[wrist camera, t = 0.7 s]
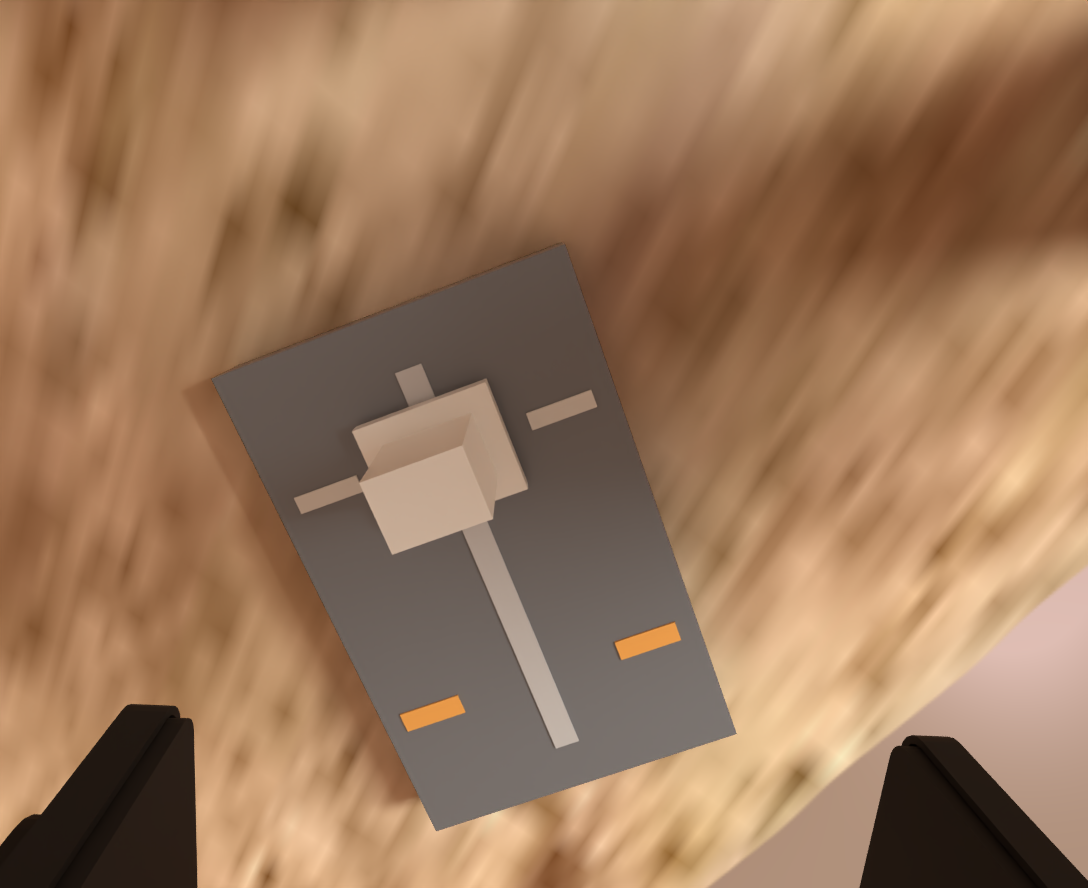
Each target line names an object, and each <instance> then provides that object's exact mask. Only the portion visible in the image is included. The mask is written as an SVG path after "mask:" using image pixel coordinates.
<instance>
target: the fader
mask: <svg viewBox="0 0 1088 888" xmlns="http://www.w3.org/2000/svg"><path fill="white" fill-rule="evenodd" d="M352 433H353V435H354V437H355V439H356V441H357V444H358V446H359V448H360V450H361V452H362V455H363V457H364V459H365V461H366V463H367V466H368V470H367V471H366V473H365V474H364V476H363V478H362V479H361V481H360V482H359V484H360V486H361V488H362V491H363V493H364V495H365V497H366V499H367V501H368V504H369V506H370V508H371V510H372V512H373V514H374V517H375V519H376V521H377V523H378V525H379V527H380V530H381V532H382V534H383V536H384V538H385V540H386V543H387V545H388V547H389V549H390V551H391V553H392V555H393V554H396V553H399V552H402V551H405V550H407V549H410V548H413V547H416V546H419V545H421V544H424V543H427V542H430V541H433V540H436V539H438V538H441V537H444V536H447V535H450V534H452V533H455V532H458V531H461V530H464V529H467V528H469V527H472V526H475V525H478V524H481V523H483V522H486V521H489V520H492V519H493V514H494V505H495V501H496V500H499V499H502V498H504V497H507V496H510V495H513V494H516V493H518V492H521V491H524V490H527V489H528V482H527V480H526V477H525V474H524V472H523V469H522V467H521V464H520V462H519V459H518V457H517V454H516V452H515V449H514V447H513V444H512V442H511V439H510V437H509V434H508V432H507V429H506V427H505V424H504V422H503V419H502V416H501V414H500V411H499V409H498V406H497V404H496V401H495V399H494V396H493V394H492V391H491V389H490V386H489V384H488V381H487V379H483V380H480V381H478V382H475V383H472V384H470V385H467V386H464V387H461V388H459V389H456V390H453V391H451V392H448V393H445V394H443V395H440V396H437V397H434V398H432V399H429V400H426V401H424V402H421V403H418V404H415V405H413V406H410V407H407V408H405V409H402V410H399V411H397V412H394V413H391V414H388V415H386V416H383V417H380V418H378V419H375V420H372V421H370V422H367V423H364V424H361V425H359V426H356V427H355V428H354V429H353V431H352Z"/></svg>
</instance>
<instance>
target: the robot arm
mask: <svg viewBox="0 0 1088 888" xmlns="http://www.w3.org/2000/svg"><path fill="white" fill-rule="evenodd" d="M0 888H197V848H196V805H195V762H194V727H193V722H192V720H191V719H190V718H180V713H179V710H178V708H177V707H176V706H166V705H141V704H130V705H127V706H126V707H125V708H124V709H123V710H122V711H121V712H120V714H119V715H118V716H117V717H116V719H115V720H114V721H113V723H112V724H111V725H110V726H109V728H108V729H107V730H106V732H105V733H104V734H103V736H102V737H101V738H100V739H99V741H98V742H97V743H96V745H95V746H94V747H93V748H92V750H91V751H90V752H89V754H88V755H87V756H86V757H85V759H84V760H83V761H82V763H81V764H80V765H79V767H78V768H77V769H76V770H75V772H74V773H73V774H72V776H71V777H70V778H69V779H68V781H67V782H66V783H65V785H64V786H63V787H62V788H61V790H60V791H59V792H58V794H57V795H56V796H55V798H54V799H53V800H52V801H51V803H50V804H49V805H48V807H47V808H46V809H45V810H44V812H43V813H42V814H41V815H39V814H33V815H31V816H29V817H27V818H25V819H23V820H22V821H21V822H20V823H19V824H18V825H17V826H16V827H15V828H14V829H13V831H12V832H11V833H10V834H9V836H8V837H7V838H6V839H5V841H4V842H3V843H2V844H1V846H0ZM860 888H1088V880H1087V879H1086V878H1085V877H1084V876H1083V875H1082V874H1081V873H1080V872H1079V871H1078V870H1077V869H1076V867H1074V865H1073V864H1072V863H1071V862H1070V861H1069V860H1068V859H1067V858H1066V857H1065V856H1064V855H1063V854H1062V853H1061V851H1060V850H1059V849H1058V848H1057V847H1056V846H1055V845H1054V844H1053V843H1052V842H1051V841H1050V840H1049V838H1048V837H1047V836H1046V835H1045V834H1044V833H1043V832H1042V831H1041V830H1040V829H1039V828H1038V827H1037V826H1036V824H1035V823H1034V822H1033V821H1032V820H1030V818H1029V817H1028V816H1027V815H1026V814H1025V813H1024V812H1023V811H1022V810H1021V808H1020V807H1019V806H1018V805H1017V804H1016V803H1015V802H1014V801H1013V800H1012V799H1011V798H1010V796H1008V794H1007V793H1006V792H1005V791H1004V790H1003V789H1002V788H1001V787H1000V786H999V785H998V784H997V783H996V781H995V780H994V779H993V778H992V777H991V776H990V775H989V774H988V773H987V772H986V771H985V770H984V769H983V768H982V766H981V765H980V764H979V763H978V762H977V761H976V760H975V759H974V758H973V757H972V756H971V755H970V754H969V752H968V751H967V750H966V749H965V748H964V747H963V746H962V745H961V744H960V743H959V742H958V741H957V740H955V739H954V738H950V737H941V736H940V737H939V736H915V735H911V736H908V737H906V739H905V740H904V741H903V743H902V746H897V747H895V748H894V749H893V750H892V752H891V755H890V759H889V763H888V767H887V772H886V776H885V781H884V785H883V789H882V793H881V798H880V802H879V806H878V810H877V815H876V819H875V823H874V828H873V832H872V836H871V841H870V845H869V850H868V854H867V858H866V863H865V866H864V871H863V875H862V880H861V884H860Z"/></svg>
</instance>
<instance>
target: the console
mask: <svg viewBox="0 0 1088 888" xmlns="http://www.w3.org/2000/svg"><path fill="white" fill-rule="evenodd" d="M483 379H487V381H488V384H489V386H490V389H491V391H492V394H493V396H494V399H495V401H496V404H497V406H498V409H499V411H500V414H501V416H502V419H503V422H504V424H505V427H506V429H507V432H508V434H509V437H510V439H511V442H512V444H513V447H514V449H515V452H516V454H517V457H518V459H519V462H520V464H521V467H522V469H523V472H524V474H525V477H526V480H527V482H528V489H527V490H524V491H521V492H518V493H516V494H513V495H510V496H507V497H504V498H502V499H499V500H496V501H495V505H494V514H493V519H492V520H489V521H486V522H483V523H481V524H478V525H475V526H472V527H469V528H467V529H464V530H461V531H458V532H455V533H452V534H450V535H447V536H444V537H441V538H438V539H436V540H433V541H430V542H427V543H424V544H421V545H419V546H416V547H413V548H410V549H407V550H405V551H402V552H399V553H396V554H393V555H392V553H391V551H390V549H389V547H388V545H387V543H386V540H385V538H384V536H383V534H382V532H381V530H380V527H379V525H378V523H377V521H376V519H375V517H374V514H373V512H372V510H371V508H370V506H369V504H368V501H367V499H366V497H365V495H364V493H363V491H362V488H361V486H360V484H359V482H360V481H361V479H362V478H363V476H364V474H365V473H366V471H367V470H368V466H367V463H366V461H365V459H364V457H363V455H362V452H361V450H360V448H359V446H358V444H357V441H356V439H355V437H354V435H353V433H352V431H353V429H354V428H355V427H356V426H359V425H361V424H364V423H367V422H370V421H372V420H375V419H378V418H380V417H383V416H386V415H388V414H391V413H394V412H397V411H399V410H402V409H405V408H407V407H410V406H413V405H415V404H418V403H421V402H424V401H426V400H429V399H432V398H434V397H437V396H440V395H443V394H445V393H448V392H451V391H453V390H456V389H459V388H461V387H464V386H467V385H470V384H472V383H475V382H478V381H480V380H483ZM211 380H212V382H213V384H214V386H215V388H216V390H217V392H218V394H219V396H220V398H221V400H222V402H223V404H224V406H225V408H226V410H227V412H228V414H229V416H230V418H231V420H232V422H233V424H234V426H235V428H236V430H237V432H238V434H239V436H240V438H241V440H242V442H243V444H244V446H245V448H246V450H247V452H248V454H249V456H250V458H251V460H252V462H253V464H254V466H255V468H256V470H257V472H258V474H259V476H260V478H261V480H262V482H263V484H264V486H265V488H266V490H267V492H268V494H269V496H270V498H271V500H272V502H273V504H274V506H275V508H276V510H277V512H278V514H279V516H280V518H281V520H282V522H283V524H284V526H285V528H286V530H287V532H288V534H289V536H290V538H291V540H292V542H293V544H294V546H295V548H296V550H297V552H298V554H299V556H300V558H301V560H302V562H303V564H304V566H305V568H306V570H307V573H308V575H309V577H310V579H311V581H312V583H313V585H314V587H315V589H316V591H317V593H318V595H319V597H320V599H321V601H322V603H323V605H324V607H325V609H326V611H327V613H328V615H329V617H330V619H331V621H332V623H333V625H334V627H335V629H336V631H337V633H338V635H339V637H340V639H341V641H342V643H343V645H344V647H345V649H346V651H347V653H348V655H349V657H350V659H351V661H352V663H353V665H354V667H355V669H356V671H357V673H358V675H359V677H360V679H361V681H362V683H363V685H364V687H365V689H366V691H367V693H368V695H369V697H370V699H371V701H372V703H373V705H374V707H375V709H376V711H377V713H378V715H379V717H380V719H381V721H382V723H383V725H384V727H385V729H386V731H387V733H388V735H389V737H390V739H391V741H392V743H393V745H394V747H395V749H396V751H397V753H398V755H399V757H400V759H401V761H402V763H403V765H404V768H405V770H406V772H407V774H408V776H409V778H410V780H411V782H412V784H413V786H414V788H415V790H416V792H417V794H418V796H419V798H420V800H421V802H422V804H423V806H424V808H425V810H426V812H427V814H428V816H429V818H430V820H431V822H432V824H433V826H434V828H435V830H436V831H439V830H442V829H445V828H448V827H451V826H454V825H457V824H460V823H463V822H466V821H469V820H472V819H476V818H479V817H482V816H485V815H488V814H491V813H494V812H497V811H500V810H503V809H506V808H510V807H513V806H516V805H519V804H522V803H525V802H528V801H531V800H534V799H537V798H540V797H543V796H547V795H550V794H553V793H556V792H559V791H562V790H565V789H568V788H571V787H574V786H577V785H580V784H584V783H587V782H590V781H593V780H596V779H599V778H602V777H605V776H608V775H611V774H614V773H618V772H621V771H624V770H627V769H630V768H633V767H636V766H639V765H642V764H645V763H648V762H651V761H655V760H658V759H661V758H664V757H667V756H670V755H673V754H676V753H679V752H682V751H685V750H688V749H692V748H695V747H698V746H701V745H704V744H707V743H710V742H713V741H716V740H719V739H722V738H725V737H729V736H732V735H735V734H736V731H735V728H734V725H733V722H732V719H731V716H730V714H729V711H728V708H727V705H726V702H725V699H724V697H723V694H722V691H721V688H720V685H719V682H718V679H717V677H716V674H715V671H714V668H713V665H712V662H711V659H710V657H709V654H708V651H707V648H706V645H705V642H704V639H703V637H702V634H701V631H700V628H699V625H698V622H697V619H696V617H695V614H694V611H693V608H692V605H691V602H690V600H689V597H688V594H687V591H686V588H685V585H684V582H683V580H682V577H681V574H680V571H679V568H678V565H677V562H676V560H675V557H674V554H673V551H672V548H671V545H670V542H669V540H668V537H667V534H666V531H665V528H664V525H663V522H662V520H661V517H660V514H659V511H658V508H657V505H656V503H655V500H654V497H653V494H652V491H651V488H650V485H649V483H648V480H647V477H646V474H645V471H644V468H643V465H642V463H641V460H640V457H639V454H638V451H637V448H636V445H635V443H634V440H633V437H632V434H631V431H630V428H629V426H628V423H627V420H626V417H625V414H624V411H623V408H622V406H621V403H620V400H619V397H618V394H617V391H616V388H615V386H614V383H613V380H612V377H611V374H610V371H609V368H608V366H607V363H606V360H605V357H604V354H603V351H602V348H601V346H600V343H599V340H598V337H597V334H596V331H595V329H594V326H593V323H592V320H591V317H590V314H589V311H588V309H587V306H586V303H585V300H584V297H583V294H582V291H581V289H580V286H579V283H578V280H577V277H576V274H575V271H574V269H573V266H572V263H571V260H570V257H569V254H568V251H567V249H566V246H565V244H564V243H562V242H561V243H559V244H556V245H553V246H551V247H548V248H545V249H543V250H540V251H538V252H535V253H532V254H530V255H527V256H524V257H522V258H519V259H517V260H514V261H511V262H509V263H506V264H503V265H501V266H498V267H496V268H493V269H490V270H488V271H485V272H482V273H480V274H477V275H475V276H472V277H469V278H467V279H464V280H461V281H459V282H456V283H454V284H451V285H448V286H446V287H443V288H440V289H438V290H435V291H433V292H430V293H427V294H425V295H422V296H419V297H417V298H414V299H412V300H409V301H406V302H404V303H401V304H398V305H396V306H393V307H391V308H388V309H385V310H383V311H380V312H377V313H375V314H372V315H370V316H367V317H364V318H362V319H359V320H356V321H354V322H351V323H349V324H346V325H343V326H341V327H338V328H335V329H333V330H330V331H328V332H325V333H322V334H320V335H317V336H314V337H312V338H309V339H307V340H304V341H301V342H299V343H296V344H293V345H291V346H288V347H286V348H283V349H280V350H278V351H275V352H272V353H270V354H267V355H265V356H262V357H259V358H257V359H254V360H251V361H249V362H246V363H244V364H241V365H238V366H236V367H234V368H232V369H230V370H228V371H226V372H224V373H222V374H220V375H218V376H216V377H214V378H212V379H211Z"/></svg>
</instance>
